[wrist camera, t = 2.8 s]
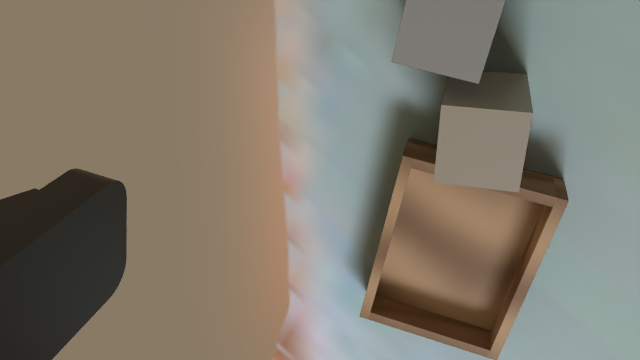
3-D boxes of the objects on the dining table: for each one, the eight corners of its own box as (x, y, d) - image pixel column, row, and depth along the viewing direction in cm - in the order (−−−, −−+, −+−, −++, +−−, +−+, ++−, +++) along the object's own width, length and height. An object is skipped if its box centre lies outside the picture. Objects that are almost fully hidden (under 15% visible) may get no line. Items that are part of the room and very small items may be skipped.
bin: (408, 138, 34) (402, 155, 32) (564, 180, 33) (568, 201, 31) (366, 293, 40) (359, 316, 38) (496, 333, 39) (496, 360, 37)
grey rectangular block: (427, -45, 30) (412, -29, 24) (506, -28, 29) (508, -8, 24) (408, 32, 31) (391, 62, 26) (482, 49, 31) (478, 84, 26)
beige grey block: (450, 68, 32) (441, 105, 27) (527, 74, 31) (532, 113, 26) (443, 135, 34) (433, 182, 28) (515, 143, 33) (518, 192, 28)
